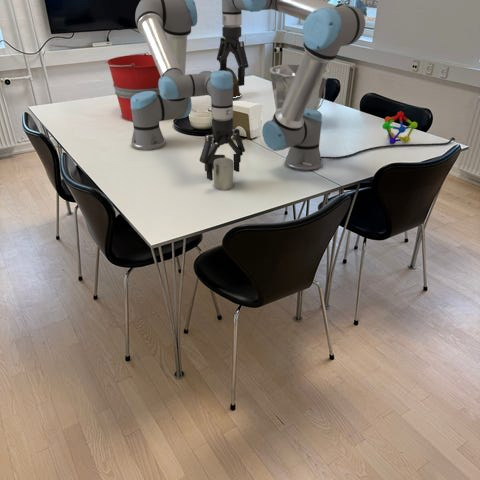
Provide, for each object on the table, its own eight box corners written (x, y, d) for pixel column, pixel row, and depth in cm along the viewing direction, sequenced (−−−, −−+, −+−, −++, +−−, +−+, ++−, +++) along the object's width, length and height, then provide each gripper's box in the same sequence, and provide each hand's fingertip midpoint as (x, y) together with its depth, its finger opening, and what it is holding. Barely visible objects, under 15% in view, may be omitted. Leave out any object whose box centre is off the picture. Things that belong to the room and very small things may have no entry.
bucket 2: (296, 138, 215) (301, 78, 201) (255, 124, 234) (256, 68, 219) (335, 125, 232) (342, 70, 217) (294, 113, 251) (297, 61, 236)
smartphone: (205, 167, 182) (208, 154, 195) (205, 169, 182) (208, 155, 195) (223, 168, 182) (225, 154, 194) (223, 169, 182) (225, 156, 195)
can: (223, 191, 165) (223, 166, 160) (210, 185, 169) (209, 161, 164) (237, 185, 169) (237, 161, 164) (223, 180, 174) (223, 156, 168)
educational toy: (377, 146, 209) (379, 114, 202) (384, 138, 219) (386, 107, 211) (411, 149, 202) (415, 116, 195) (417, 141, 212) (420, 109, 204)
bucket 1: (121, 106, 263) (114, 51, 247) (180, 106, 262) (176, 52, 246) (104, 123, 233) (95, 63, 217) (170, 124, 232) (166, 64, 216)
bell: (227, 105, 294) (202, 96, 282) (238, 66, 289) (213, 55, 277) (243, 108, 280) (217, 98, 268) (255, 66, 275) (229, 55, 263)
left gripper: (200, 127, 146) (202, 186, 158) (255, 114, 159) (254, 170, 171) (187, 122, 151) (190, 180, 163) (242, 109, 164) (241, 164, 176)
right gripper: (207, 23, 180) (209, 77, 191) (241, 30, 162) (241, 89, 174) (223, 22, 184) (224, 75, 195) (258, 28, 166) (256, 87, 177)
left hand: (223, 175), depth 167 cm, fingers open, 12 cm apart
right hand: (232, 82), depth 184 cm, fingers open, 13 cm apart
